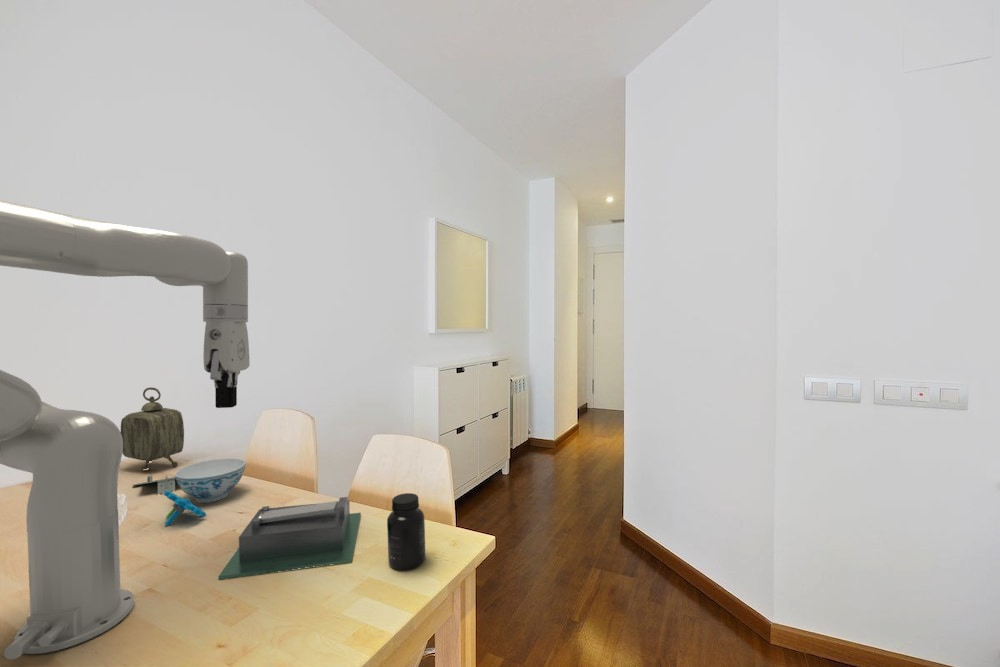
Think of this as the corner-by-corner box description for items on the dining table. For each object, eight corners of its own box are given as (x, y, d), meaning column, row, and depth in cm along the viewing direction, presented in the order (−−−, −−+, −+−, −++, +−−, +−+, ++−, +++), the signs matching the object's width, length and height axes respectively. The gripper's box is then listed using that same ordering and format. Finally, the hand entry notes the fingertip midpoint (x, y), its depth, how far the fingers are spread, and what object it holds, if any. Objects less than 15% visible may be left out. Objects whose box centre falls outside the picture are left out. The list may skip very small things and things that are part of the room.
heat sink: (351, 562, 79) (350, 522, 79) (218, 579, 74) (217, 537, 74) (360, 515, 99) (360, 483, 98) (255, 526, 94) (255, 492, 93)
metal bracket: (200, 466, 117) (128, 478, 108) (201, 488, 116) (128, 502, 107) (199, 467, 128) (133, 478, 119) (200, 487, 127) (133, 499, 118)
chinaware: (204, 513, 100) (204, 481, 100) (160, 505, 105) (159, 474, 104) (259, 489, 114) (259, 461, 114) (218, 483, 119) (218, 455, 119)
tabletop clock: (185, 465, 133) (182, 386, 133) (154, 476, 125) (152, 391, 124) (150, 461, 137) (148, 384, 137) (119, 471, 129) (116, 389, 128)
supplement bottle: (409, 547, 84) (409, 487, 84) (432, 559, 80) (432, 496, 80) (380, 562, 79) (379, 499, 79) (403, 576, 75) (402, 509, 74)
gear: (212, 514, 96) (171, 491, 91) (190, 540, 93) (146, 517, 88) (203, 506, 104) (165, 484, 99) (183, 529, 101) (142, 508, 96)
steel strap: (334, 512, 86) (334, 507, 86) (255, 524, 83) (255, 519, 83) (337, 505, 90) (336, 500, 90) (261, 516, 86) (260, 511, 86)
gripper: (231, 313, 78) (231, 413, 78) (260, 316, 93) (260, 400, 93) (184, 313, 77) (185, 415, 77) (221, 315, 91) (222, 401, 91)
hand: (226, 406), depth 85 cm, fingers closed
